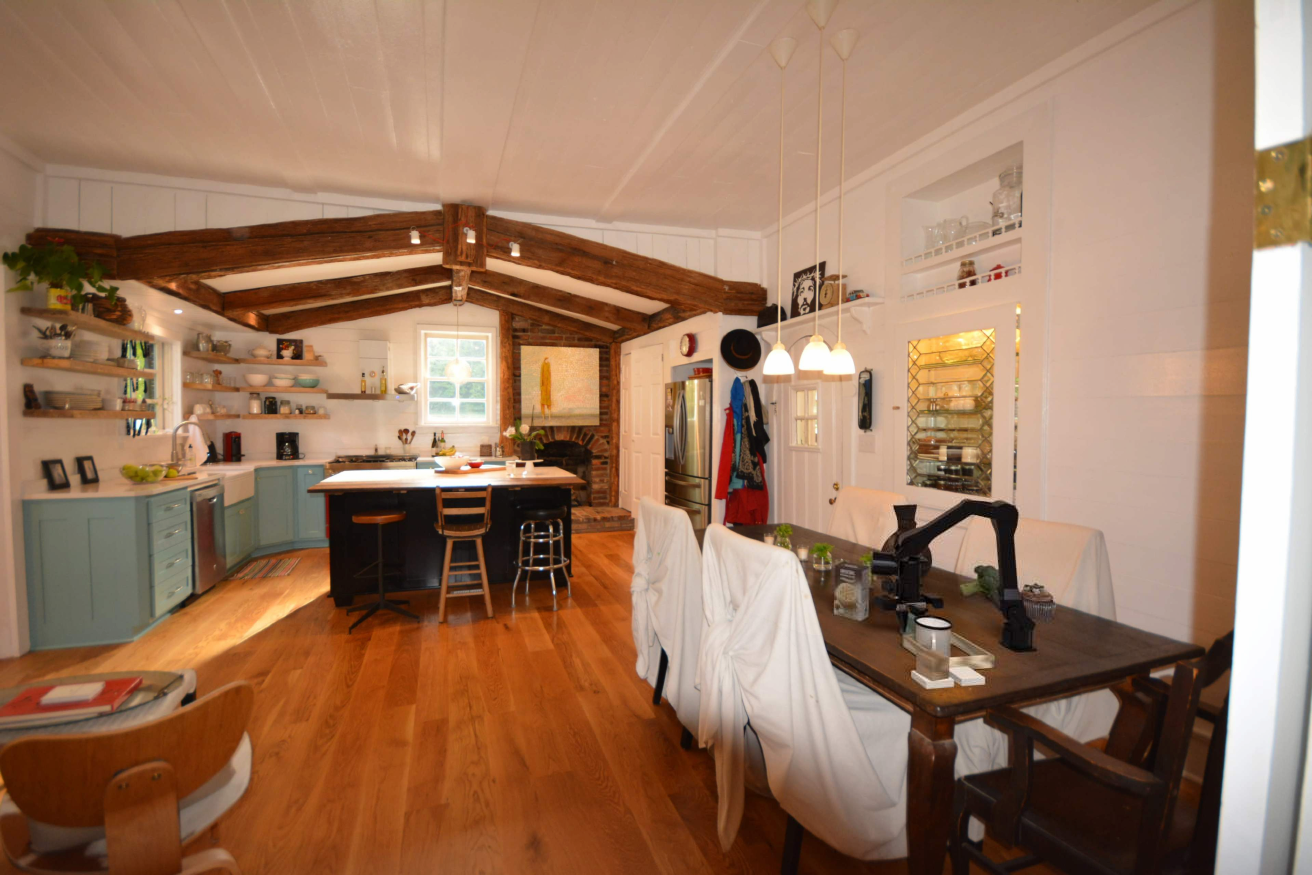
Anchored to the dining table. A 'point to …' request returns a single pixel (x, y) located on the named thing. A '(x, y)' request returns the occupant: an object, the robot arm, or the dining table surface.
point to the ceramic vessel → (905, 524)
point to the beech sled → (978, 655)
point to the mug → (934, 633)
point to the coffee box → (851, 590)
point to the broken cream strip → (952, 678)
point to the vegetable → (983, 582)
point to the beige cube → (932, 665)
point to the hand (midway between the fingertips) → (907, 631)
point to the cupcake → (1038, 602)
